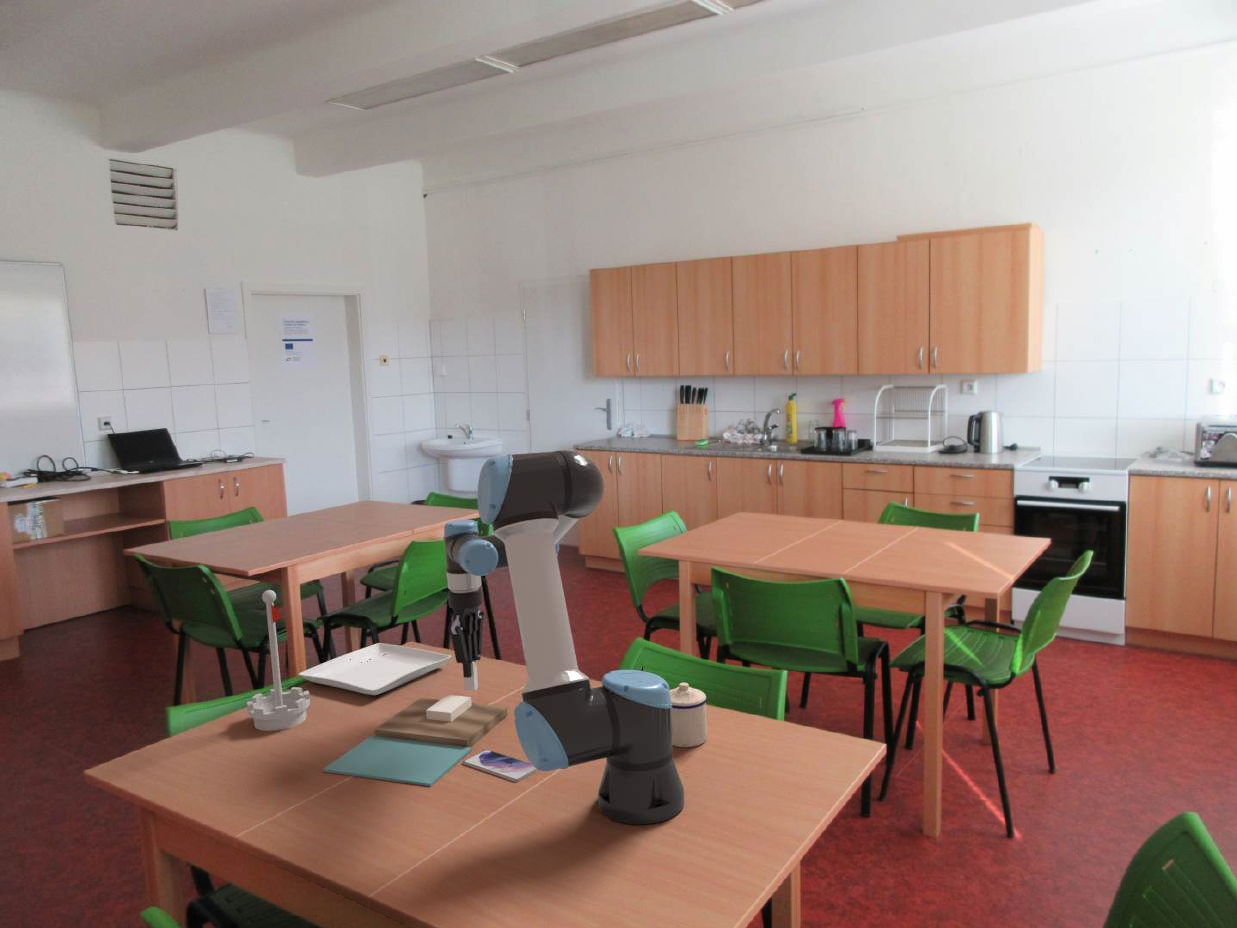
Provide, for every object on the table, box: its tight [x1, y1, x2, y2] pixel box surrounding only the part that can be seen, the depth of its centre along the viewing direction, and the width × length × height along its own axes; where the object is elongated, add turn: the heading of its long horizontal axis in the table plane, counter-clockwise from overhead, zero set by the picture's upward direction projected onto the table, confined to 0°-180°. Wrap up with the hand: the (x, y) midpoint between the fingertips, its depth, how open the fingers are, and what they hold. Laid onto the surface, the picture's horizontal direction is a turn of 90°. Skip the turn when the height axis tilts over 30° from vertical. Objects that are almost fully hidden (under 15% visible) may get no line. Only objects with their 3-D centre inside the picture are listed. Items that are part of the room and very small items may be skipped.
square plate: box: [298, 642, 452, 696], centre depth 232 cm, size 27×27×4 cm
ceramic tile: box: [426, 694, 473, 722], centre depth 201 cm, size 9×6×2 cm, turn 160°
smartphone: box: [462, 749, 540, 783], centre depth 179 cm, size 7×1×15 cm
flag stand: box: [246, 589, 311, 732], centre depth 204 cm, size 13×13×30 cm
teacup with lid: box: [670, 682, 708, 748], centre depth 187 cm, size 12×9×12 cm
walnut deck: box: [374, 697, 509, 748], centre depth 199 cm, size 18×22×2 cm
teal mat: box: [322, 735, 473, 787], centre depth 183 cm, size 16×24×1 cm, turn 70°
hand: (471, 688), depth 210 cm, fingers closed
